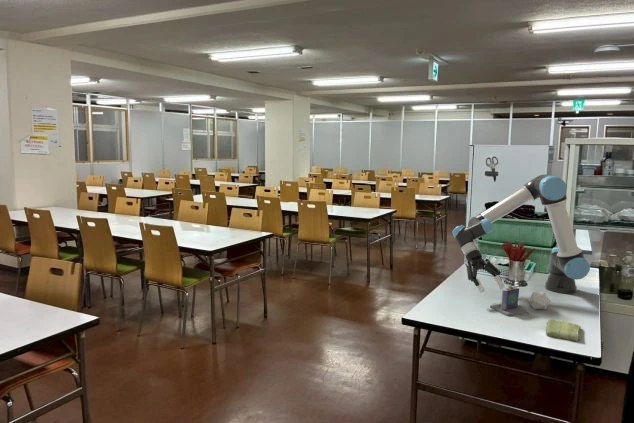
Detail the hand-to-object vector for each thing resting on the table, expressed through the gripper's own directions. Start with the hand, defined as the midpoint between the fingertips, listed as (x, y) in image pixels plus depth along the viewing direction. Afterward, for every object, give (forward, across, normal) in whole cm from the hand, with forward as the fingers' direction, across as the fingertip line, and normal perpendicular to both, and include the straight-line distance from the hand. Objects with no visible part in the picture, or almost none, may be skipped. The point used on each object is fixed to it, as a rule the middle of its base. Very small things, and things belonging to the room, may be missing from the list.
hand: (492, 289), depth 227 cm
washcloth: (+32, 0, +21) cm, 39 cm away
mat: (+12, 0, +2) cm, 13 cm away
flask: (+12, 0, +3) cm, 12 cm away
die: (+15, -16, +5) cm, 22 cm away
